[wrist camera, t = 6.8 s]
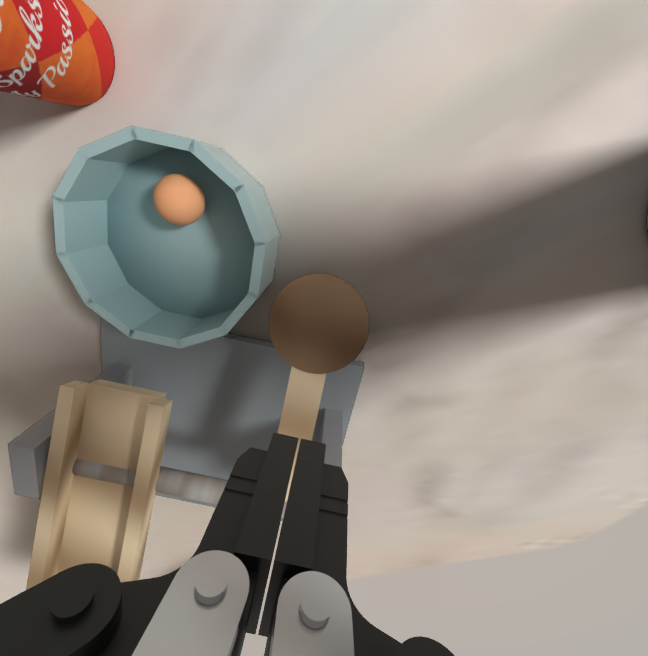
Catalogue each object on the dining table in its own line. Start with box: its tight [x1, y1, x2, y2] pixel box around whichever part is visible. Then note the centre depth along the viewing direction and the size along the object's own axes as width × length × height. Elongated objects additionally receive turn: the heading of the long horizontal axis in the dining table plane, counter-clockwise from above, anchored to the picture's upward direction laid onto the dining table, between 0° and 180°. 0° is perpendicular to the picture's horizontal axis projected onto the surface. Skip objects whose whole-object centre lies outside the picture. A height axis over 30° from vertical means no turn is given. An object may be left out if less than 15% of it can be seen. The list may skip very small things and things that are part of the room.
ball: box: [153, 174, 205, 225], centre depth 22 cm, size 3×3×3 cm
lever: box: [26, 274, 369, 590], centre depth 20 cm, size 30×16×4 cm, turn 168°
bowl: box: [52, 126, 280, 348], centre depth 23 cm, size 12×12×5 cm
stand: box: [8, 316, 364, 521], centre depth 26 cm, size 17×20×10 cm
